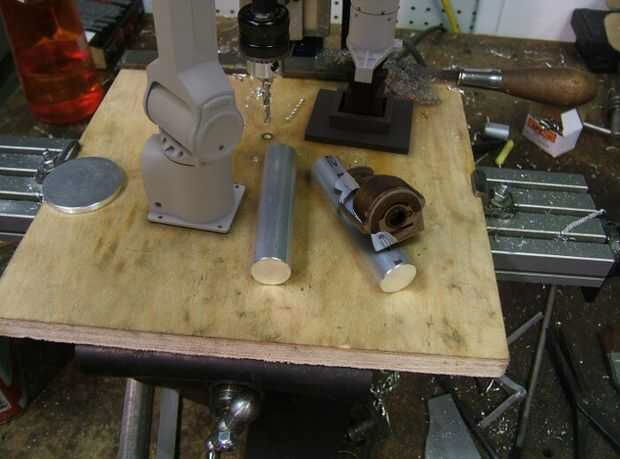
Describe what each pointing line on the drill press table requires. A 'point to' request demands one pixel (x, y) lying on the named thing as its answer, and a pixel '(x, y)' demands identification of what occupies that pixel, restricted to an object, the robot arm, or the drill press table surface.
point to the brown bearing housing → (385, 204)
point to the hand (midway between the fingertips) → (363, 102)
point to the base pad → (360, 123)
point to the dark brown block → (376, 105)
